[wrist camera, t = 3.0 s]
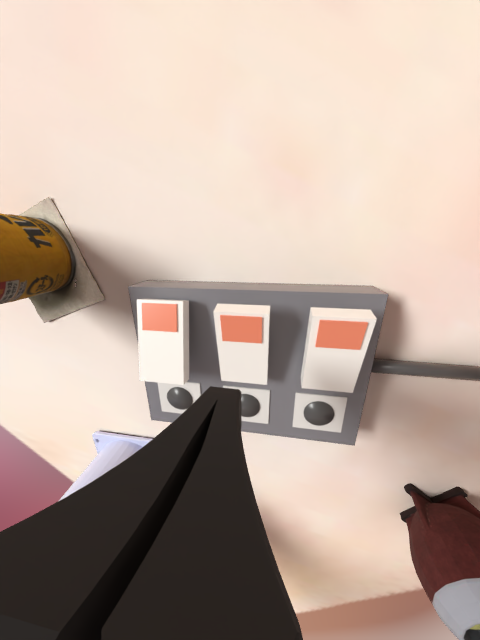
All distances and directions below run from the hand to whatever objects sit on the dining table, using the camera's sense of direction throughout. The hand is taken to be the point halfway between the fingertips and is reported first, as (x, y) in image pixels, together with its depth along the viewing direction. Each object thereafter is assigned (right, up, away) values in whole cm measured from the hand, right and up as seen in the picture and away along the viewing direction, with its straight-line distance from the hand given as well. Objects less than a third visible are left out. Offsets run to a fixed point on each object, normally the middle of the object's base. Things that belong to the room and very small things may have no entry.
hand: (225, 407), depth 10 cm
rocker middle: (+1, +2, +5) cm, 6 cm away
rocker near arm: (-5, +2, +6) cm, 8 cm away
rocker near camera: (+6, +2, +4) cm, 8 cm away
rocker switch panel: (+6, +1, +9) cm, 11 cm away
